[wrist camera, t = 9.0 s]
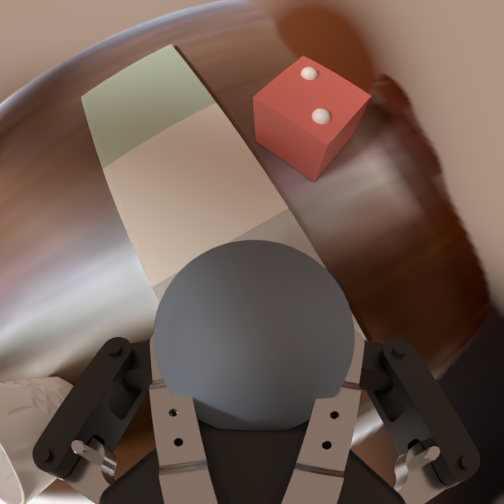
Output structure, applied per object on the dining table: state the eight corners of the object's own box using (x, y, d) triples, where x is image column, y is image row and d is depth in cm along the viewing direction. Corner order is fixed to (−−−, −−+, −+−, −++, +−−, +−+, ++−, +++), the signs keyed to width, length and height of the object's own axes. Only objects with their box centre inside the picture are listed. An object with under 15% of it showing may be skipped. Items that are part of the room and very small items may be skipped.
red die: (313, 182, 19) (329, 140, 13) (255, 141, 19) (252, 91, 14) (351, 136, 19) (373, 91, 14) (297, 100, 20) (304, 50, 15)
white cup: (119, 423, 17) (36, 483, 7) (82, 469, 16) (15, 520, 6) (51, 348, 18) (-46, 362, 8) (23, 403, 17) (-54, 427, 7)
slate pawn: (241, 383, 16) (214, 470, 7) (192, 299, 17) (110, 296, 8) (327, 335, 17) (398, 373, 7) (278, 250, 18) (292, 189, 8)
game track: (231, 419, 16) (230, 422, 16) (82, 99, 21) (80, 97, 21) (366, 343, 17) (368, 344, 16) (172, 46, 22) (171, 44, 21)
